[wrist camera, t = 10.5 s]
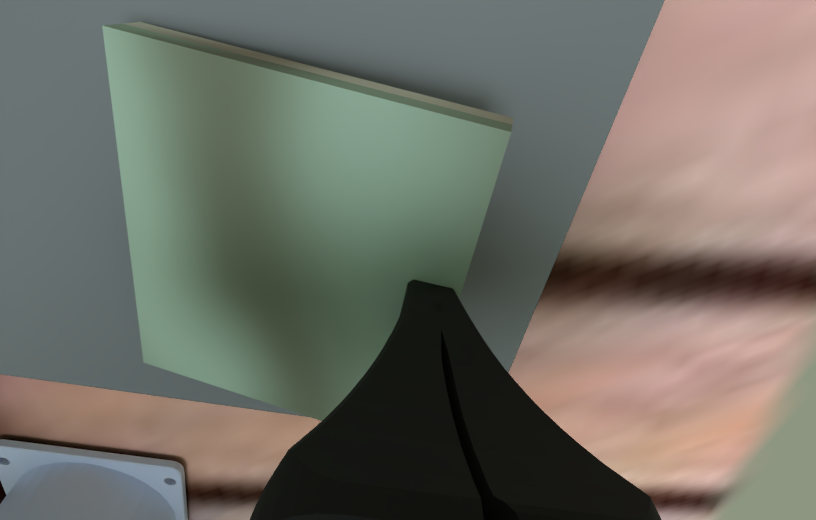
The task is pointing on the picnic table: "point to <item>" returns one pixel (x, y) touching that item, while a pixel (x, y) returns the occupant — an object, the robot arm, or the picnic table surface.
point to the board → (316, 46)
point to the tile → (285, 210)
